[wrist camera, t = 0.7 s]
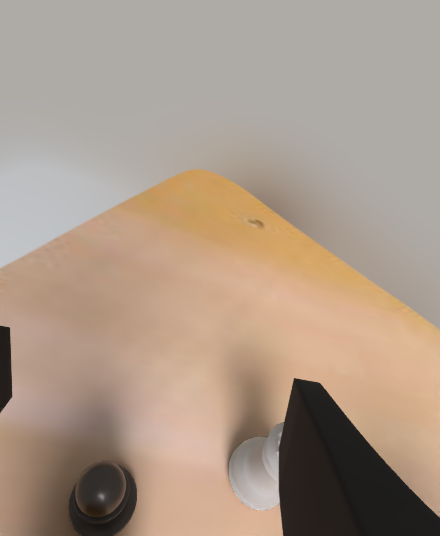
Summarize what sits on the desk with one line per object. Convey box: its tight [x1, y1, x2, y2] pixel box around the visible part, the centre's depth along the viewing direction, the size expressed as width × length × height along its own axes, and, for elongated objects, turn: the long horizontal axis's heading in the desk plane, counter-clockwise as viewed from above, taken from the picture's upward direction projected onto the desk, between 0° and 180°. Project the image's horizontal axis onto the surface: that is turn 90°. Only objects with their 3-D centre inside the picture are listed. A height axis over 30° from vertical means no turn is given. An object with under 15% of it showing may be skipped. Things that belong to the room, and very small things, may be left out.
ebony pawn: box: [69, 461, 137, 536], centre depth 21 cm, size 4×4×7 cm
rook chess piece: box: [229, 422, 284, 510], centre depth 23 cm, size 4×4×8 cm
